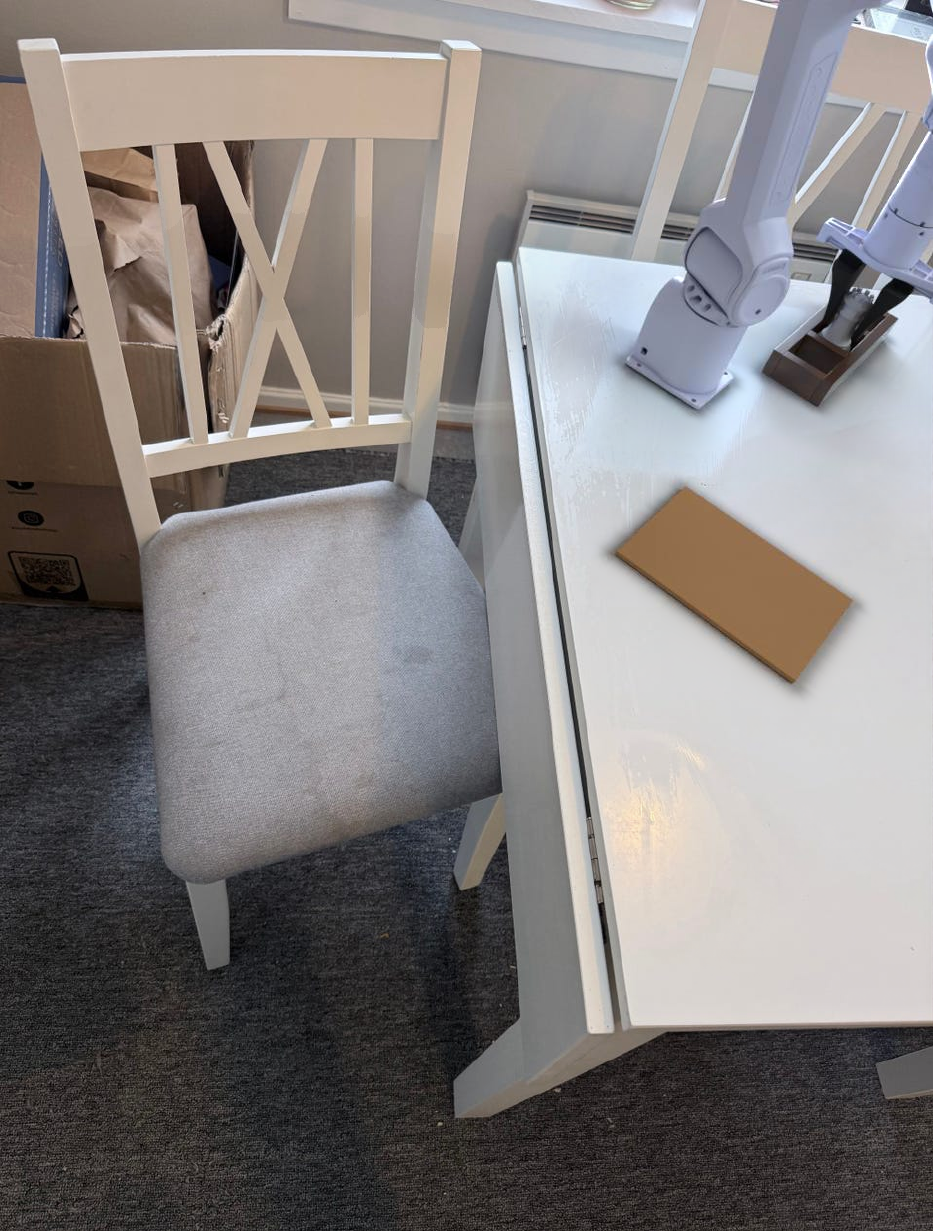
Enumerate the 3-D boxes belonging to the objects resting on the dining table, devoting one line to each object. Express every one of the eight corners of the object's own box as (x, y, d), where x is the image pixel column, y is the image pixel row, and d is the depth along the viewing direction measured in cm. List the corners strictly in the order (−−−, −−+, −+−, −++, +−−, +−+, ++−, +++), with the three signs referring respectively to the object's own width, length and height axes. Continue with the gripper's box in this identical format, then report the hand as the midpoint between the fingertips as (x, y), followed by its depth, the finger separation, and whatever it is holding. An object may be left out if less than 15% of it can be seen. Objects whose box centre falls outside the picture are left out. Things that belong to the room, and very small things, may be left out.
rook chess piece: (845, 371, 96) (885, 310, 89) (807, 361, 96) (845, 299, 89) (842, 349, 99) (881, 288, 92) (806, 338, 98) (842, 277, 92)
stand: (761, 371, 93) (773, 349, 91) (831, 309, 103) (844, 287, 101) (818, 407, 91) (832, 385, 89) (884, 339, 101) (898, 318, 99)
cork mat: (615, 554, 73) (616, 550, 73) (683, 489, 79) (685, 485, 79) (792, 683, 68) (795, 680, 68) (850, 603, 75) (853, 599, 74)
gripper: (994, 234, 84) (912, 348, 94) (865, 168, 88) (801, 284, 98) (972, 257, 80) (889, 373, 91) (839, 187, 84) (775, 305, 95)
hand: (842, 328), depth 94 cm, fingers closed on rook chess piece, 3 cm apart
